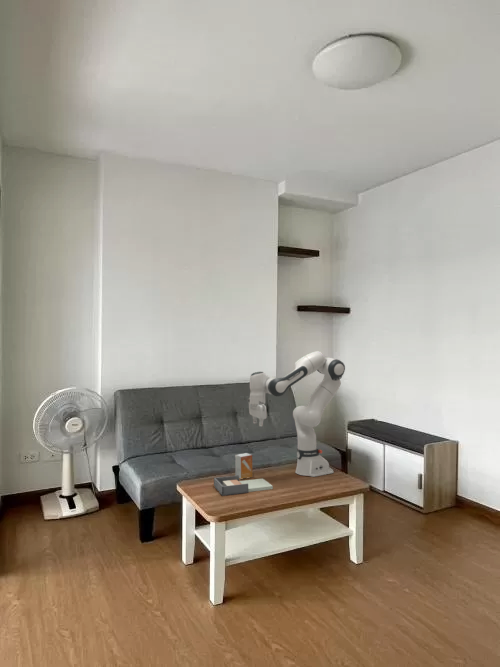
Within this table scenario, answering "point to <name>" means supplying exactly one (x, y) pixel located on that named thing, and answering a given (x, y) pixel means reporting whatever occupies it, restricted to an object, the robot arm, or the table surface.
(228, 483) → the cream tile
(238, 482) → the terracotta tile
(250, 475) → the small box
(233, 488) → the tray
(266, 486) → the sage board
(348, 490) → the table surface
